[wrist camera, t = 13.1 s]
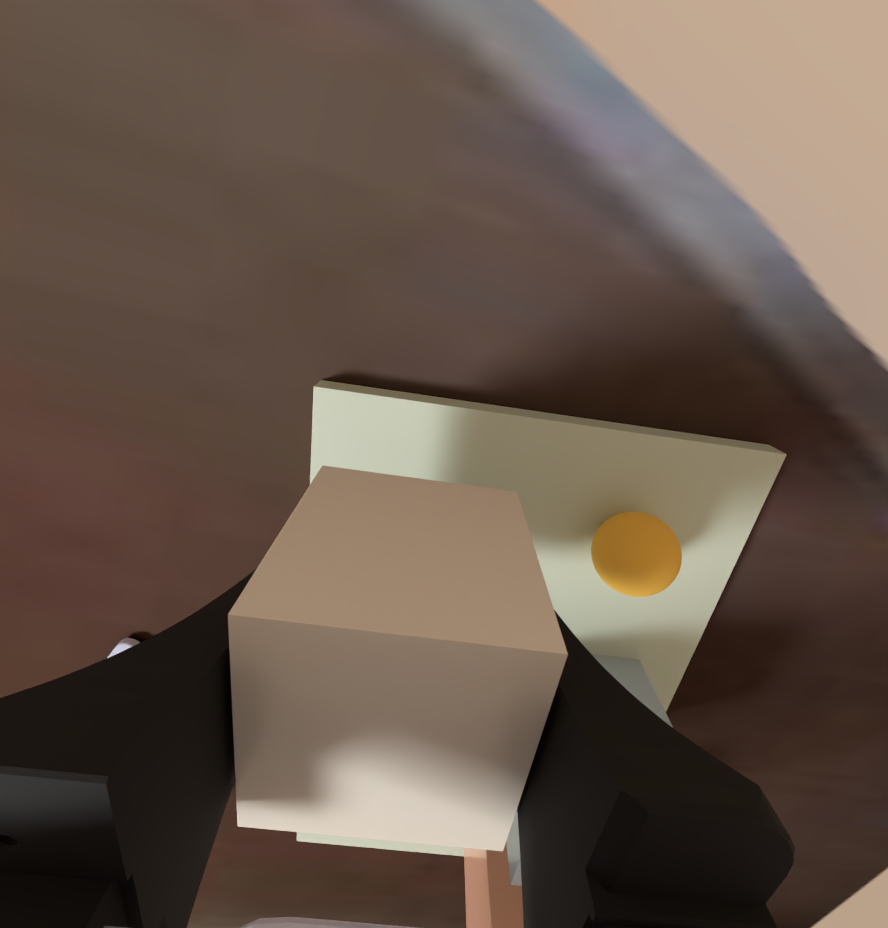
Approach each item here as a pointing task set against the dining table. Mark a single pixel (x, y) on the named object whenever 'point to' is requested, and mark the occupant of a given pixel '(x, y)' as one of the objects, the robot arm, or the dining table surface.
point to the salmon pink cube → (491, 891)
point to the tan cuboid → (393, 664)
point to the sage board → (568, 509)
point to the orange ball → (636, 554)
